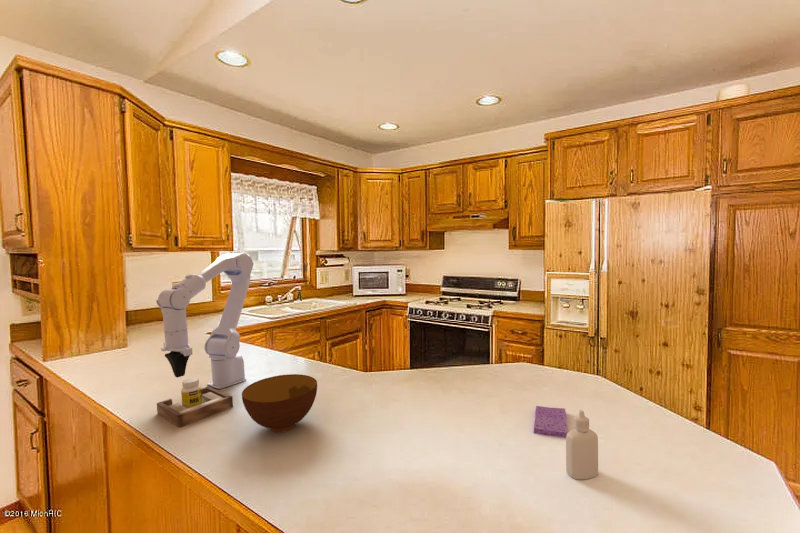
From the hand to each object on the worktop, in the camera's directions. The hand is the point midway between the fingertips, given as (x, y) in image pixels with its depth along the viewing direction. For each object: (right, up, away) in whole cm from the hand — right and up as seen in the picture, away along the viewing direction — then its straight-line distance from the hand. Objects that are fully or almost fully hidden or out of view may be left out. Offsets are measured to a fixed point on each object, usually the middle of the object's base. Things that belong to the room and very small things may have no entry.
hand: (179, 376), depth 108 cm
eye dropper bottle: (+98, -7, -39) cm, 106 cm away
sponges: (+100, -6, -20) cm, 102 cm away
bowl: (+35, -8, -16) cm, 40 cm away
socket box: (+7, -8, -5) cm, 12 cm away
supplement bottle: (+6, -8, -5) cm, 11 cm away
